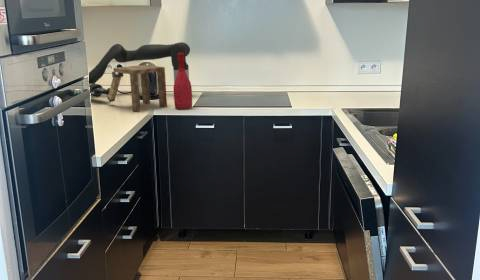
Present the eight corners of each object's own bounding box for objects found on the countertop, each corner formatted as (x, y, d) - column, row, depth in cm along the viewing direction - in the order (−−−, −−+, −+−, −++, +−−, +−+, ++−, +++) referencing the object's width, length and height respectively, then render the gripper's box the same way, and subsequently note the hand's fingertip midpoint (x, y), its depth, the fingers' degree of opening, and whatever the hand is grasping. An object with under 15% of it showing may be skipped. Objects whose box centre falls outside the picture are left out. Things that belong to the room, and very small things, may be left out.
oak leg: (112, 97, 276) (119, 72, 265) (114, 100, 275) (121, 75, 263) (107, 98, 274) (114, 72, 263) (109, 101, 273) (116, 76, 261)
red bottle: (196, 107, 264) (193, 52, 256) (185, 110, 256) (182, 53, 248) (181, 105, 269) (179, 51, 261) (170, 108, 261) (167, 53, 253)
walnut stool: (147, 102, 281) (144, 64, 276) (167, 106, 267) (164, 67, 261) (114, 107, 267) (111, 68, 262) (133, 112, 253) (130, 70, 247)
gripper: (83, 85, 282) (97, 87, 270) (103, 82, 291) (118, 84, 279) (84, 97, 284) (98, 100, 272) (104, 94, 293) (119, 97, 281)
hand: (108, 92), depth 275 cm, fingers closed
